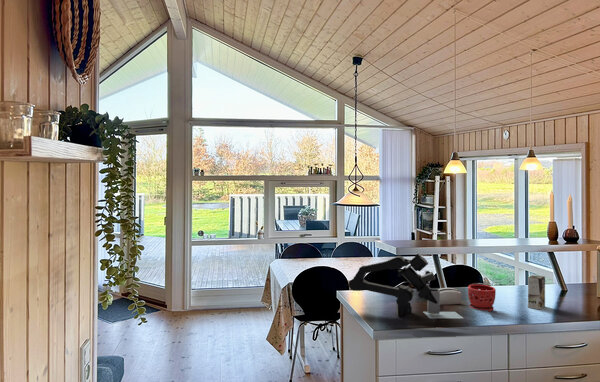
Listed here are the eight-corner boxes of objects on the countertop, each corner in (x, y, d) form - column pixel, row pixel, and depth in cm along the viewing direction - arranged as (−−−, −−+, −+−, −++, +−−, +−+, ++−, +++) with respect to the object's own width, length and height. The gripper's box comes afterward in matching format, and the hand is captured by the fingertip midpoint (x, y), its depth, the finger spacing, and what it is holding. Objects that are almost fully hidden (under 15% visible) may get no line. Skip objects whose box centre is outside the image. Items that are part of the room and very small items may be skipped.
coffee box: (541, 310, 217) (541, 278, 218) (527, 307, 222) (527, 277, 222) (545, 306, 224) (545, 276, 224) (532, 304, 228) (532, 274, 229)
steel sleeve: (428, 313, 201) (428, 291, 201) (427, 310, 206) (427, 288, 206) (439, 313, 199) (439, 291, 199) (438, 311, 204) (438, 289, 204)
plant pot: (462, 308, 220) (462, 285, 220) (481, 305, 225) (481, 283, 225) (482, 314, 208) (482, 290, 208) (501, 312, 213) (501, 288, 213)
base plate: (429, 321, 197) (429, 311, 197) (422, 314, 208) (422, 305, 208) (463, 321, 197) (463, 311, 197) (455, 314, 208) (455, 305, 208)
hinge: (456, 301, 234) (459, 285, 231) (460, 306, 230) (463, 290, 227) (428, 302, 231) (431, 286, 228) (432, 307, 227) (435, 291, 224)
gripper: (425, 269, 195) (450, 295, 192) (424, 263, 213) (447, 286, 210) (408, 285, 196) (432, 311, 194) (408, 277, 215) (430, 301, 212)
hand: (436, 301), depth 202 cm, fingers open, 5 cm apart
